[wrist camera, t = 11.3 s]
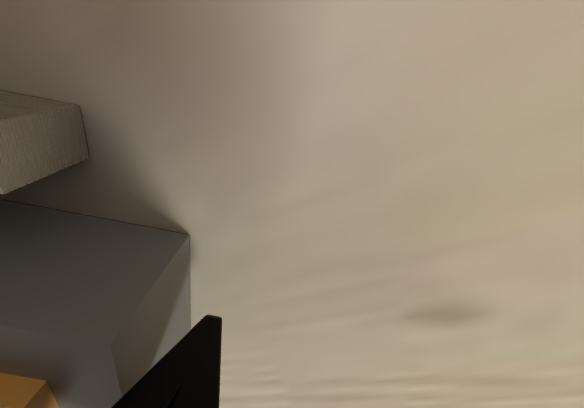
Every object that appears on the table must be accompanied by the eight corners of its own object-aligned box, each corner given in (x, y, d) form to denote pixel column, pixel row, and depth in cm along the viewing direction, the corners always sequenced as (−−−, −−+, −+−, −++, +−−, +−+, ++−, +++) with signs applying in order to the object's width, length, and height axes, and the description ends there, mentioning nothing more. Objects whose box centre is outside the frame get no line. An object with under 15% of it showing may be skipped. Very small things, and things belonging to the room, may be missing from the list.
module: (190, 330, 11) (122, 478, 7) (26, 300, 11) (-135, 433, 7) (189, 234, 9) (88, 374, 5) (-19, 196, 9) (-294, 306, 5)
